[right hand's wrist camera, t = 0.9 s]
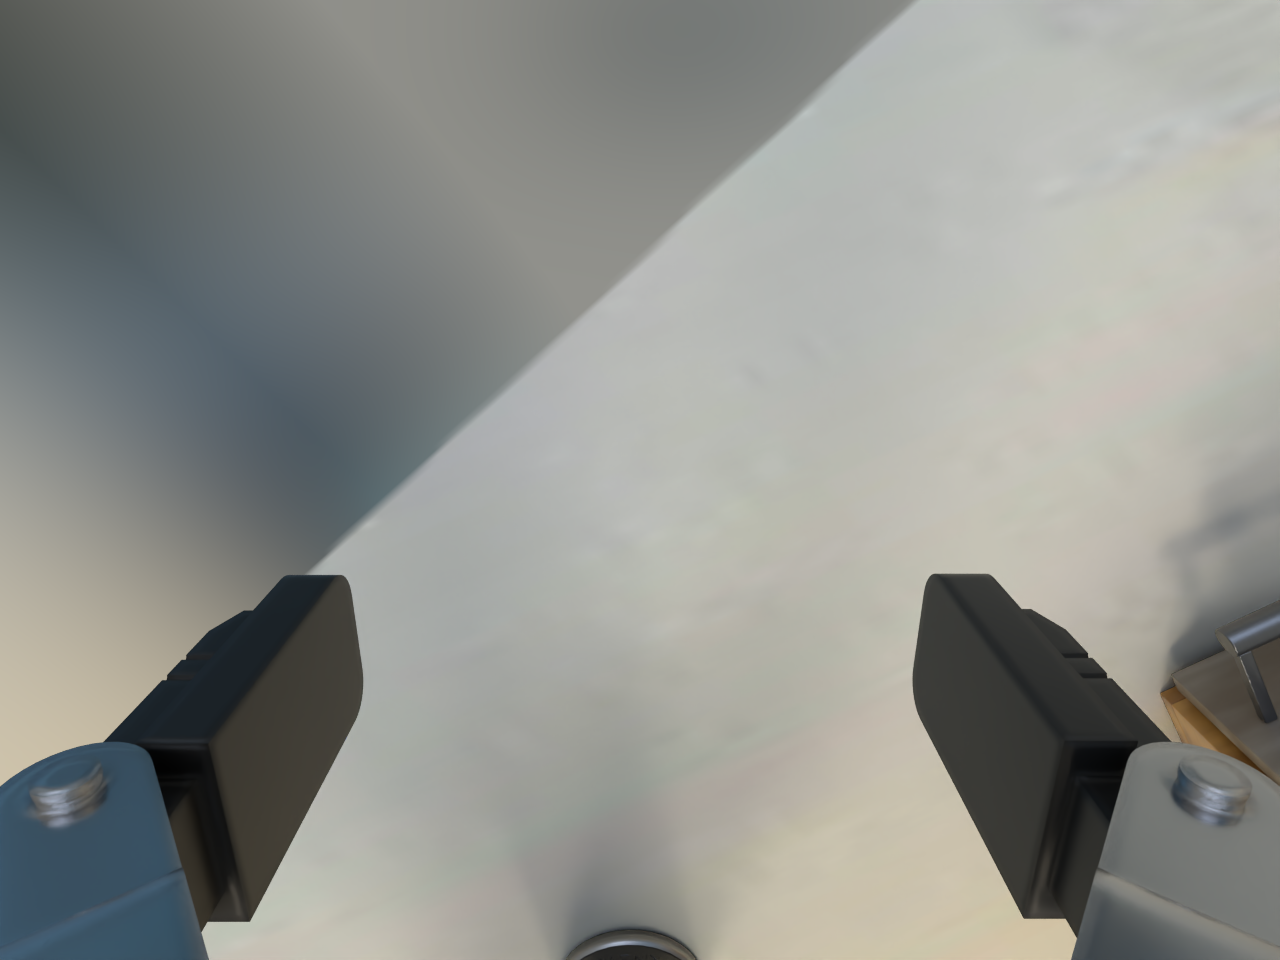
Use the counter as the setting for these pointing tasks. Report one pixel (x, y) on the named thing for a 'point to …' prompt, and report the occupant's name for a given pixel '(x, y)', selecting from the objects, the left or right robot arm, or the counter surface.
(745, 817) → the counter surface
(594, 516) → the counter surface
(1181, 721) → the cabinet
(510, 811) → the counter surface
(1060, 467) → the counter surface
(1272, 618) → the drawer
